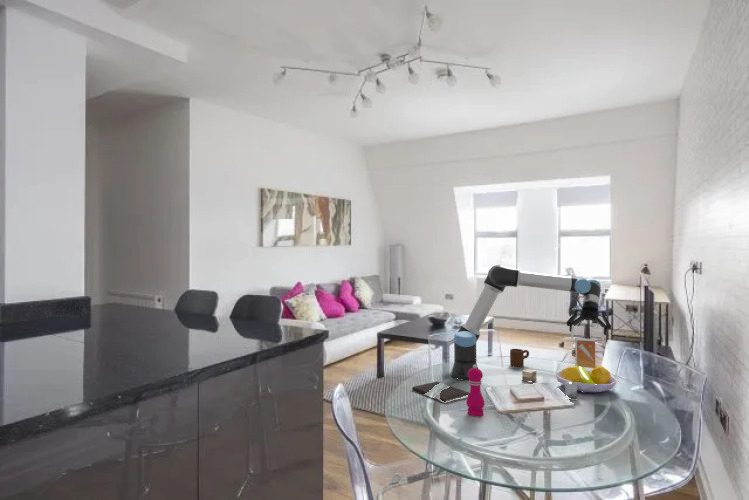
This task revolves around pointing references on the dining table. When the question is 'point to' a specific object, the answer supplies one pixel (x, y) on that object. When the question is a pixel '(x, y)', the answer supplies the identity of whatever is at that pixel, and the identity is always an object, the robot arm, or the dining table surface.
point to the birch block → (529, 375)
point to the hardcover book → (445, 394)
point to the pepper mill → (475, 392)
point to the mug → (518, 357)
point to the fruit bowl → (587, 378)
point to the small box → (585, 352)
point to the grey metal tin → (571, 389)
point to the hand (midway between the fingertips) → (586, 338)
